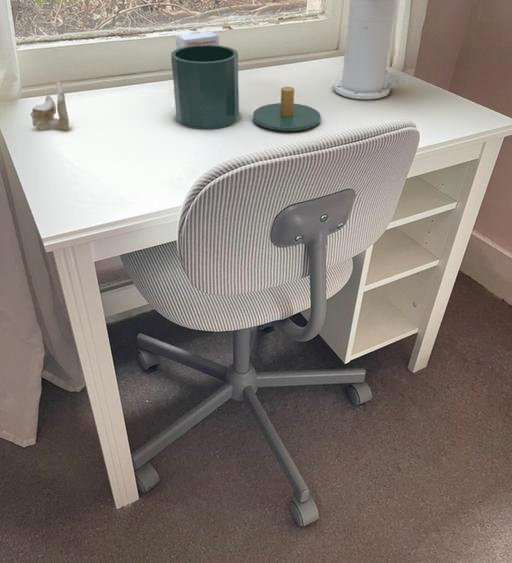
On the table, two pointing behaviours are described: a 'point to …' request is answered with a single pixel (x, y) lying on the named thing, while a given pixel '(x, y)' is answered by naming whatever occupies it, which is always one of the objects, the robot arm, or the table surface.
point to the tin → (206, 86)
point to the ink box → (196, 39)
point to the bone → (51, 113)
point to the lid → (286, 114)
